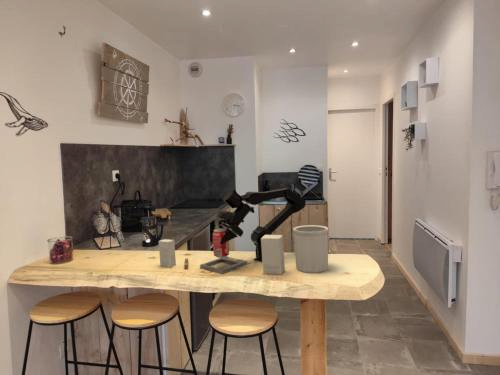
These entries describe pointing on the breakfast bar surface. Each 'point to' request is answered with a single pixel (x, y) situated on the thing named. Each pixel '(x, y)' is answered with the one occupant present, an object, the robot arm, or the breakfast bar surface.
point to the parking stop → (186, 263)
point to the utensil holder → (311, 248)
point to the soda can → (218, 248)
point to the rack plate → (234, 262)
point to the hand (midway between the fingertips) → (217, 242)
